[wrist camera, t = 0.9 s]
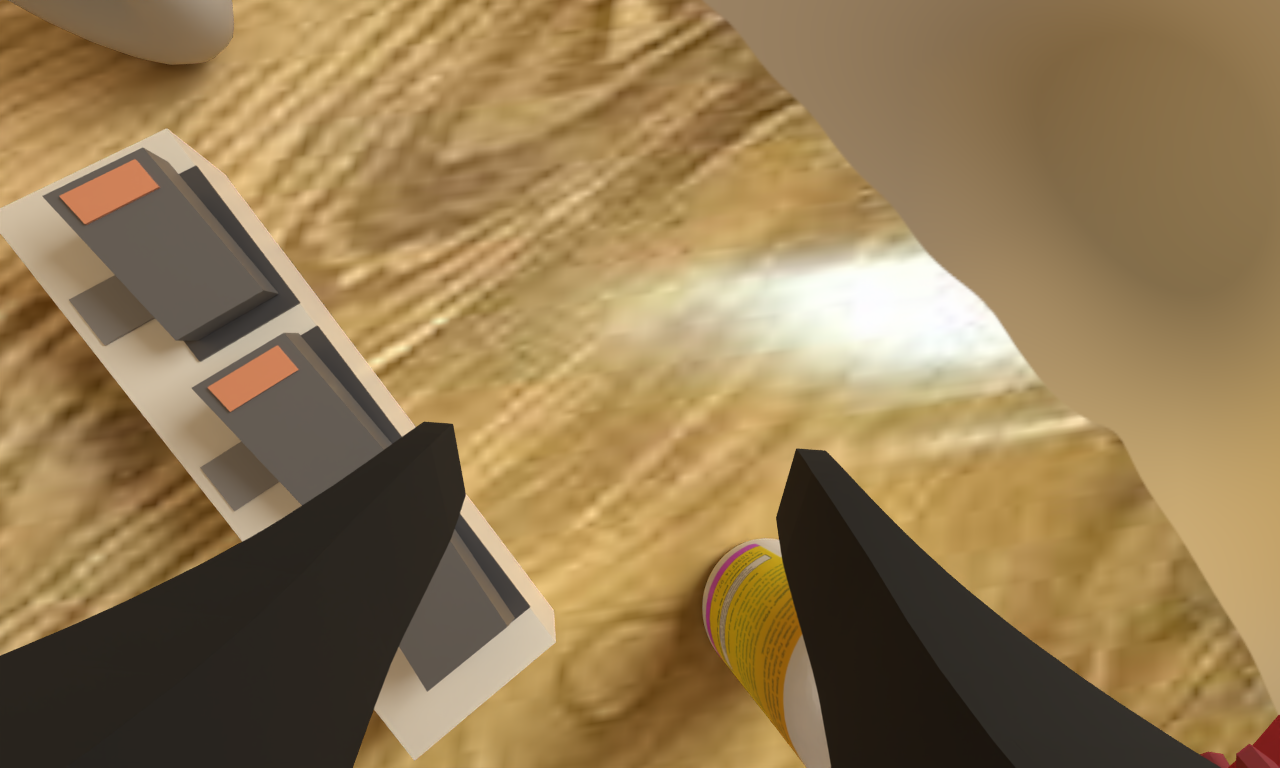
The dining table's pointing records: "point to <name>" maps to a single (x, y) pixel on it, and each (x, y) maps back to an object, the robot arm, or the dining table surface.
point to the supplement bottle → (766, 643)
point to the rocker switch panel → (218, 457)
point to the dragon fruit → (1255, 751)
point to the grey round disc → (145, 26)
